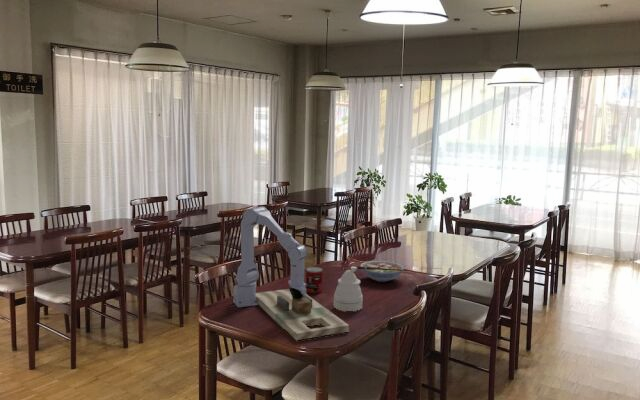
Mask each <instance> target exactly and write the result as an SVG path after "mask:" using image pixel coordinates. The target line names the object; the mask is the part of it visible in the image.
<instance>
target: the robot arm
mask: <svg viewBox="0 0 640 400" xmlns="http://www.w3.org/2000/svg"><path fill="white" fill-rule="evenodd" d="M240 221H241V222H240V253H241V255H240V257H241V259H240V260H241V263H240V265H239V266H238V267H237V273H236V275H235V280H236V281H235V282H236V283H237V284H236V285H234V287H233V300H232V301H233V302H232V303H234V305H236V307H237V308H243V307H251V306H253V307H254V306H259V304H258V303H257V302H256V293H257V292H256V291H257V285H256V284H257V280H259V278H260V273H259V270H258V269H259V268H258V265H257V264H256V262H255V246H254V241H255V240H254V239H255V238H254V234H255V233H254V227H256V226H257V225H263V226H265V227H266V228H268V229H269V230H270V231H271V232H272V233H273V234H274V235H275V236H276V237H277V242H278V243H279V244H280V246H282V247H283V249H284V250H285V251H286V252H287V255H288V258H289V261H290V263H289V264H290V279H288V285H289V287H290V288H288V289H289V290H290V292H291V295H292V298H293V299H298V298H302V296H303V294H307V291H306V285H307V284H306V282H305V258H306V257H307V255H308V250H307V247H306V246H305V245H304V244H300V243H299V242H298V241H297V240H296V239H295V238H294V237H293V234H292V233H289V232H286V231H284V230H283V229H282V228H281V226H280V225H279V223H277V222H276V220H275V219H274V217H273V216H272V213H271V211H269V210H268V209H267V208H266V207H265V206H263V205H260V206H257V207H253V208H247V209H246V210H245V211H244V212H243V213H242V219H241V220H240Z"/></svg>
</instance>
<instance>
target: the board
mask: <svg viewBox="0 0 640 400" xmlns="http://www.w3.org/2000/svg"><path fill="white" fill-rule="evenodd" d="M289 289H290V288H287V289H277V290H269V291H260V292H256V302H257V303H258V304H259V305H258V306H259V307H260V308H261V309H262V310H263V311H264V312H266V314H268V316H270V317H271V318H272V320H274V322H276V323H277V325H279V326H280V327H281V328H282V329H283V330H284V329H285V330H286V331H287V332H288V333H289V334H290V335H291V336H292V337H293V338H294V339H295V340H296V341H295V340H294V339H293V338H292V337H291V336H290V335H289V334H288V333H287V332H286V331H285V330H284V331H285V332H286V333H287V334H288V335H289V336H290V337H291V338H292V339H293V340H294V341H295V342H298V341H297V340H301V339H306V338H312V337H318V336H324V335H329V334H336V333H343V332H349V331H350V330H349V328H350V327H349V326H350V325H349V324H348V323H346V322H345V321H344V320H343V319H341V318H340V317H338V316H337V315H336V314H334V313H333V312H331V311H330V310H329V309H327V308H326V307H325V306H323V305H322V304H320V303H319V302H318V301H316V300H315V299H314V298H313V297H311V296H309V295H308V293H306V294H303V296H302V298H307V299H308V300H309V301H311V313H305V314H296V313H295V312H294V311H293V310H292V299H293V298H292V295H291V292H290V290H289ZM320 324H321V325H320ZM314 325H318V326H321V327H315V326H314ZM322 325H323V326H324V327H323V326H322ZM307 326H311V327H315V328H310V327H307ZM343 334H344V333H343Z"/></svg>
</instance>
